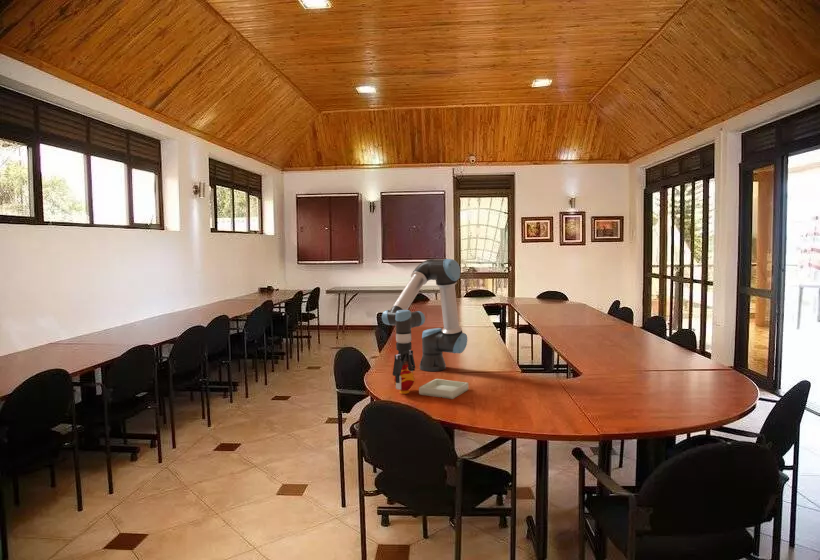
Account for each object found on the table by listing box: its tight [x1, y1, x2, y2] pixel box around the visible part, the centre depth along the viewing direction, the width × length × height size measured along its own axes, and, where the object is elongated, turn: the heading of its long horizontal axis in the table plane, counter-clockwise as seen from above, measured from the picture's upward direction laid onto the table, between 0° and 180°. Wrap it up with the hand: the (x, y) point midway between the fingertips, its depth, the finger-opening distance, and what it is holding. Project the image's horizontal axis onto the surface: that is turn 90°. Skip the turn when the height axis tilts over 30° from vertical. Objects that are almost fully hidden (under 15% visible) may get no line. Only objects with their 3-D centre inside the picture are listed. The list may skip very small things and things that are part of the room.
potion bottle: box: [393, 361, 416, 395], centre depth 264 cm, size 10×10×15 cm
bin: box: [418, 378, 469, 400], centre depth 263 cm, size 18×18×4 cm
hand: (404, 386), depth 264 cm, fingers closed on potion bottle, 10 cm apart
